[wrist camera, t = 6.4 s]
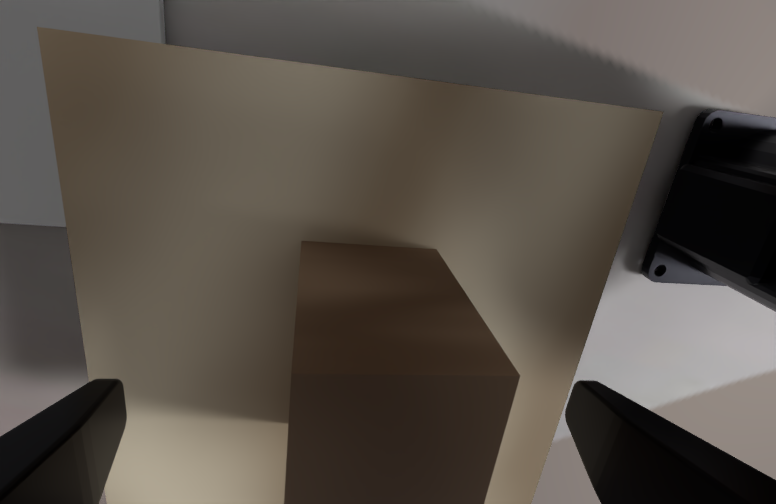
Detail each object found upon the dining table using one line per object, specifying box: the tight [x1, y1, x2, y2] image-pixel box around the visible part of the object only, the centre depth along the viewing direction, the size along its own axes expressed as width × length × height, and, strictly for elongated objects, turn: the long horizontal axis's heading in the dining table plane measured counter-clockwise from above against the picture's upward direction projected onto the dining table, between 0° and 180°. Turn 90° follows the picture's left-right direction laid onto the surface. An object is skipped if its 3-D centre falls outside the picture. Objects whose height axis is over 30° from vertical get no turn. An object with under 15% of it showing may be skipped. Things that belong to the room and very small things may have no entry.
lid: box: [37, 27, 663, 504], centre depth 9 cm, size 12×12×6 cm
